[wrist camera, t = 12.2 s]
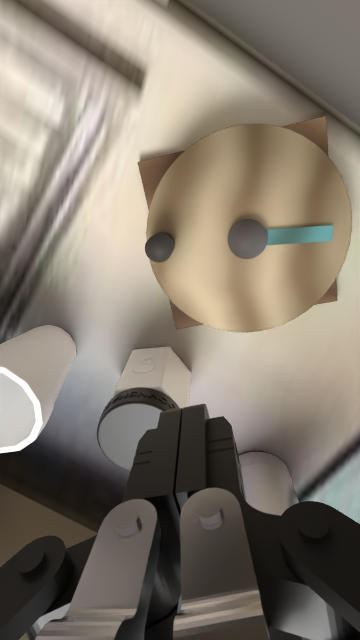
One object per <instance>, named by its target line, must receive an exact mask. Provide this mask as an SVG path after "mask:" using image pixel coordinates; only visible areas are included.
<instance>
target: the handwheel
mask: <svg viewBox="0 0 360 640" xmlns="http://www.w3.org/2000/svg"><path fill="white" fill-rule="evenodd" d="M351 231H352V214H351V205H350V200H349V196H348V192H347V189H346V186H345V184H344V181H343V179H342V176H341V175H340V173H339V171H338V170H337V168H336V166H335V165H334V163H333V162H332V161H331V160H330V158H329V157H328V156H327V155H326V153H325V152H323V151H322V150H321V149H320V148H319V147H318V146H317V145H316V144H315V143H313V142H312V141H310V140H308V139H307V138H305V137H304V136H302V135H300V134H298V133H296V132H294V131H291V130H289V129H286V128H282V127H279V126H275V125H267V124H243V125H237V126H232V127H228V128H225V129H222V130H219V131H216V132H214V133H212V134H210V135H208V136H206V137H204V138H202V139H200V140H199V141H197V142H196V143H194V144H193V145H191V146H190V147H189V148H188V149H187V150H186V151H184V152H183V153H182V154H181V155H180V156H179V157H178V158H177V159H176V160H175V161H174V163H173V164H172V165H171V166H170V167H169V169H168V170H167V172H166V173H165V175H164V176H163V178H162V179H161V181H160V183H159V185H158V187H157V189H156V191H155V194H154V197H153V199H152V202H151V205H150V210H149V214H148V219H147V231H146V234H147V242H146V245H145V252H146V254H147V256H148V258H149V259H150V263H151V266H152V269H153V272H154V274H155V276H156V279H157V281H158V283H159V284H160V286H161V288H162V289H163V291H164V292H165V294H166V295H167V296H168V297H169V299H170V300H171V301H172V302H173V303H174V304H175V305H176V306H177V307H178V308H179V309H180V310H181V311H183V312H184V313H185V314H187V315H188V316H189V317H191V318H193V319H195V320H196V321H198V322H200V323H202V324H204V325H207V326H209V327H212V328H216V329H220V330H223V331H231V332H255V331H262V330H266V329H271V328H274V327H277V326H280V325H282V324H285V323H287V322H289V321H291V320H293V319H295V318H296V317H298V316H300V315H301V314H303V313H304V312H306V311H307V310H308V309H309V308H311V307H312V306H313V305H314V304H315V303H317V301H318V300H319V299H320V298H321V297H322V296H323V295H324V294H325V293H326V292H327V290H328V289H329V288H330V286H331V285H332V284H333V282H334V281H335V279H336V277H337V275H338V274H339V272H340V270H341V268H342V265H343V263H344V261H345V258H346V255H347V251H348V248H349V244H350V238H351Z"/></svg>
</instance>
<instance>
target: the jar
mask: <svg viewBox="0 0 360 640" xmlns="http://www.w3.org/2000/svg"><path fill="white" fill-rule="evenodd" d="M190 389H191V372H190V371H189V370H188V368H187V367H186V366H185V365H184V364H183V362H182V361H181V360H180V359H179V357H178V356H177V355H176V354H175V353H174V351H173V350H172V349H171V348H170V347H169V346H168V347H156V348H145V349H134V350H133V351H132V353H131V355H130V357H129V359H128V361H127V363H126V366H125V368H124V370H123V372H122V374H121V377H120V379H119V381H118V383H117V385H116V388H115V390H114V392H113V395H112V397H111V399H110V401H109V403H108V404H107V406H106V407H105V409H104V411H103V413H102V415H101V417H100V421H99V424H98V428H97V439H98V443H99V446H100V448H101V450H102V452H103V453H104V455H105V456H106V457H107V458H108V459H109V460H110V461H111V462H112V463H114V464H115V465H117V466H119V467H121V468H123V469H125V470H128V471H131V467H132V466H133V460H134V456H136V455H135V453H136V449H137V445H138V442H139V440H140V439H141V438H142V436H143V435H144V434H145V432H146V431H147V430H149V429H155V428H157V426H158V421H159V416H160V412H162V411H168V410H173V409H179V408H184V407H189V406H190Z"/></svg>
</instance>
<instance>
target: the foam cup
mask: <svg viewBox="0 0 360 640" xmlns="http://www.w3.org/2000/svg"><path fill="white" fill-rule="evenodd" d="M76 355H77V354H76V344H75V343H74V341H73V339H72V338H71V336H70V334H68V333H67V332H66V331H64V330H63V329H62V328H60V327H56V326H52V325H44V326H39V327H37V328H34V329H32V330H30V331H27V332H25V333H23V334H21V335H19V336H17V337H15V338H12V339H10V340H8V341H6V342H4V343H2V344H0V453H5V452H12V451H20V450H21V449H23V448H24V447H25V446H27V445H28V444H30V443H31V442H33V441H34V440H36V438H37V437H38V435H39V434H40V432H41V431H42V429H43V428H44V427H45V425H46V424H47V421H48V419H49V417H50V415H51V412H52V410H53V408H54V407H53V404H54V402H55V400H56V398H57V396H58V394H59V392H60V389H61V387H62V385H63V383H64V381H65V379H66V377H67V375H68V373H69V371H70V368H71V366H72V364H73V362H74V360H75V357H76Z"/></svg>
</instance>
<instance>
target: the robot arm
mask: <svg viewBox="0 0 360 640" xmlns="http://www.w3.org/2000/svg"><path fill="white" fill-rule="evenodd" d="M135 455H136V456H134V460H133V466H132V467H131V471H130V475H129V479H128V482H127V486H126V490H125V493H124V497H123V501H122V504H120V505H118V506H117V507H115V508H114V509H113V510H112V511H111V512H110V513H109V514H108V515H107V516H106V518H105V519H104V521H103V523H102V525H101V527H100V530H99V532H98V534H97V535H96V536H94V537H92V538H90V539H87V540H85V541H83V542H81V543H78V544H76V545H74V546H72V547H69V548H67V549H66V546H65V544H64V542H63V541H62V540H61V539H60V538H59V537H56V536H45V537H41V538H38V539H36V540H34V541H32V542H31V543H29V544H27V545H26V546H25V547H24V548H22V549H21V550H20V551H19V552H18V553H17V554H15V555H14V556H13V557H12V558H11V559H9V560H8V561H7V562H6V563H5V564H4V565H3V566H1V567H0V640H19V639H20V638H21V636H23V635H24V634H25V633H26V635H27V637H28V638H29V640H360V524H359V523H357V522H355V521H354V520H352V519H351V518H349V517H347V516H346V515H344V514H343V513H341V512H339V511H338V510H336V509H335V508H333V507H331V506H329V505H326V504H324V503H320V502H314V501H305V502H298V499H297V495H296V492H295V489H294V486H293V483H292V480H291V476H290V473H289V471H288V468H287V466H286V465H285V464H284V462H283V461H282V460H280V459H279V458H278V457H276V456H274V455H272V454H269V453H265V452H249V453H244V454H241V455H239V456H238V452H237V447H236V443H235V439H234V435H233V431H232V426H231V424H230V423H229V422H228V421H227V420H226V419H225V418H224V416H223V417H217V418H211V419H210V418H209V414H208V410H207V407H206V404H200V405H195V406H189V407H184V408H179V409H173V410H168V411H162V412H160V416H159V421H158V426H157V428H155V429H149V430H147V431H146V432H145V434H144V435H143V436H142V438H141V439H140V440H139V442H138V445H137V449H136V453H135Z"/></svg>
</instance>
